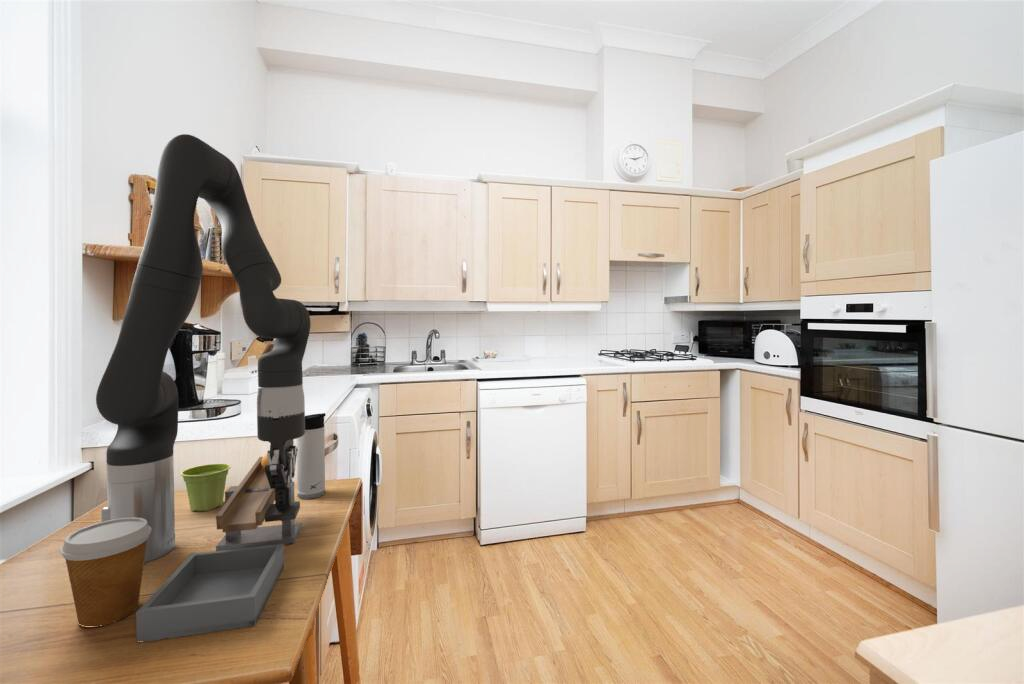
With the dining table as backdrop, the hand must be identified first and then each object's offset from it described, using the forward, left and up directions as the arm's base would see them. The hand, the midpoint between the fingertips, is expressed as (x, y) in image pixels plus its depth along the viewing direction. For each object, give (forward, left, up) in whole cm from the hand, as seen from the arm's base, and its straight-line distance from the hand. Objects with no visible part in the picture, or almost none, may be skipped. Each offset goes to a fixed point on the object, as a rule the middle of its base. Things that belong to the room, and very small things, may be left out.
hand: (283, 507), depth 79 cm
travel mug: (-1, +31, -9) cm, 32 cm away
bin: (-6, -12, -9) cm, 16 cm away
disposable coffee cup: (-20, -12, -9) cm, 25 cm away
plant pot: (-23, +29, -9) cm, 38 cm away
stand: (-6, +8, -9) cm, 13 cm away
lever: (-3, +8, -2) cm, 9 cm away
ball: (-6, +16, +4) cm, 18 cm away
